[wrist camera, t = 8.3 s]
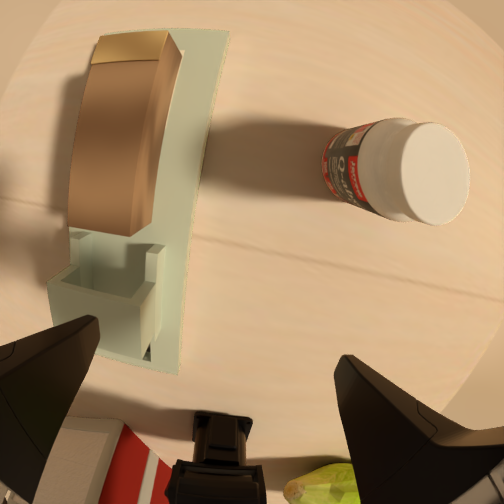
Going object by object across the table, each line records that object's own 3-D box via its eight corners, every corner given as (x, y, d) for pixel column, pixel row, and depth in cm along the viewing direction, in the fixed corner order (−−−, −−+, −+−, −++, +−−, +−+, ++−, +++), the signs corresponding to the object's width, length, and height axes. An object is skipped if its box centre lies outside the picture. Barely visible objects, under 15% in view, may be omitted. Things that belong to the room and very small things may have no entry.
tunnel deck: (180, 364, 23) (166, 419, 17) (87, 341, 23) (57, 383, 16) (230, 39, 15) (226, -9, 9) (111, 40, 14) (72, 7, 8)
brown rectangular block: (151, 222, 18) (128, 238, 14) (97, 214, 17) (65, 227, 13) (182, 56, 14) (167, 30, 10) (124, 57, 14) (100, 36, 10)
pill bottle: (303, 165, 19) (361, 165, 9) (352, 115, 17) (433, 85, 8) (354, 219, 20) (432, 261, 10) (398, 169, 19) (489, 181, 9)
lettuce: (325, 435, 28) (345, 507, 17) (396, 456, 33) (415, 501, 22) (259, 471, 31) (263, 533, 20) (342, 486, 36) (354, 529, 25)
